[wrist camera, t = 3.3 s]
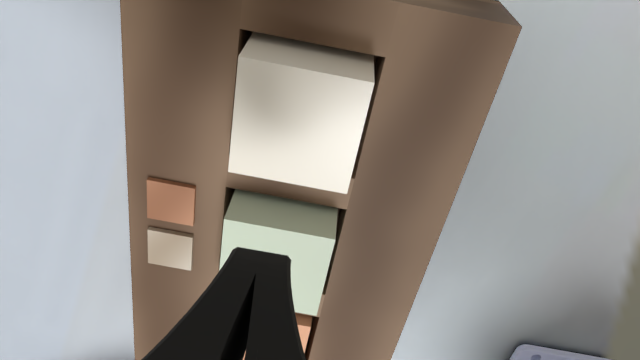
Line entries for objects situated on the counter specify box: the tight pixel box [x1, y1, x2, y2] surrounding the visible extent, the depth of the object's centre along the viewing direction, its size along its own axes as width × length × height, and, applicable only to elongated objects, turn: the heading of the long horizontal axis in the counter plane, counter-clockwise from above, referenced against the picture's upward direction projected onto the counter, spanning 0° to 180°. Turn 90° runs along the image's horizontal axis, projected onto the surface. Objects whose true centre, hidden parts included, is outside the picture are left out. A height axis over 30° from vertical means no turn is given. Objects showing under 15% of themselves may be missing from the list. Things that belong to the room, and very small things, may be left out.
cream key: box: [228, 32, 375, 194], centre depth 17 cm, size 4×4×2 cm
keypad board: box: [120, 0, 522, 360], centre depth 21 cm, size 12×20×3 cm, turn 170°
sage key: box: [219, 189, 338, 316], centre depth 20 cm, size 4×4×2 cm
